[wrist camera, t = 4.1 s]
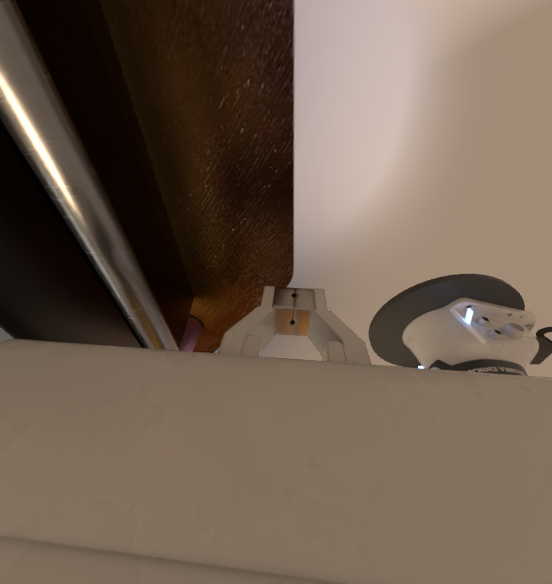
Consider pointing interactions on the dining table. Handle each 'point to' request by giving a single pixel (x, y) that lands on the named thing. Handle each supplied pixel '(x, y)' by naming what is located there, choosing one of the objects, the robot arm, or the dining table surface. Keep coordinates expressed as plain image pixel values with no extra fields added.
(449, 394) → the robot arm
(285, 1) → the dining table surface
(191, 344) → the beverage can
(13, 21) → the oven door
